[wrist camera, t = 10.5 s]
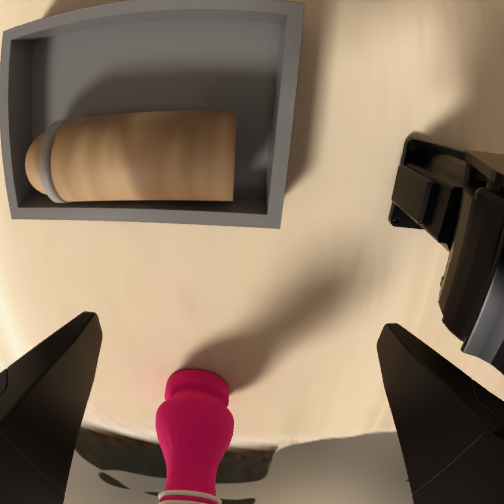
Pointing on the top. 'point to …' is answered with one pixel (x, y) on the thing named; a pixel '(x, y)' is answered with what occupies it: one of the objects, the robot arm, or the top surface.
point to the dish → (157, 95)
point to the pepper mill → (193, 435)
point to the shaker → (136, 157)
